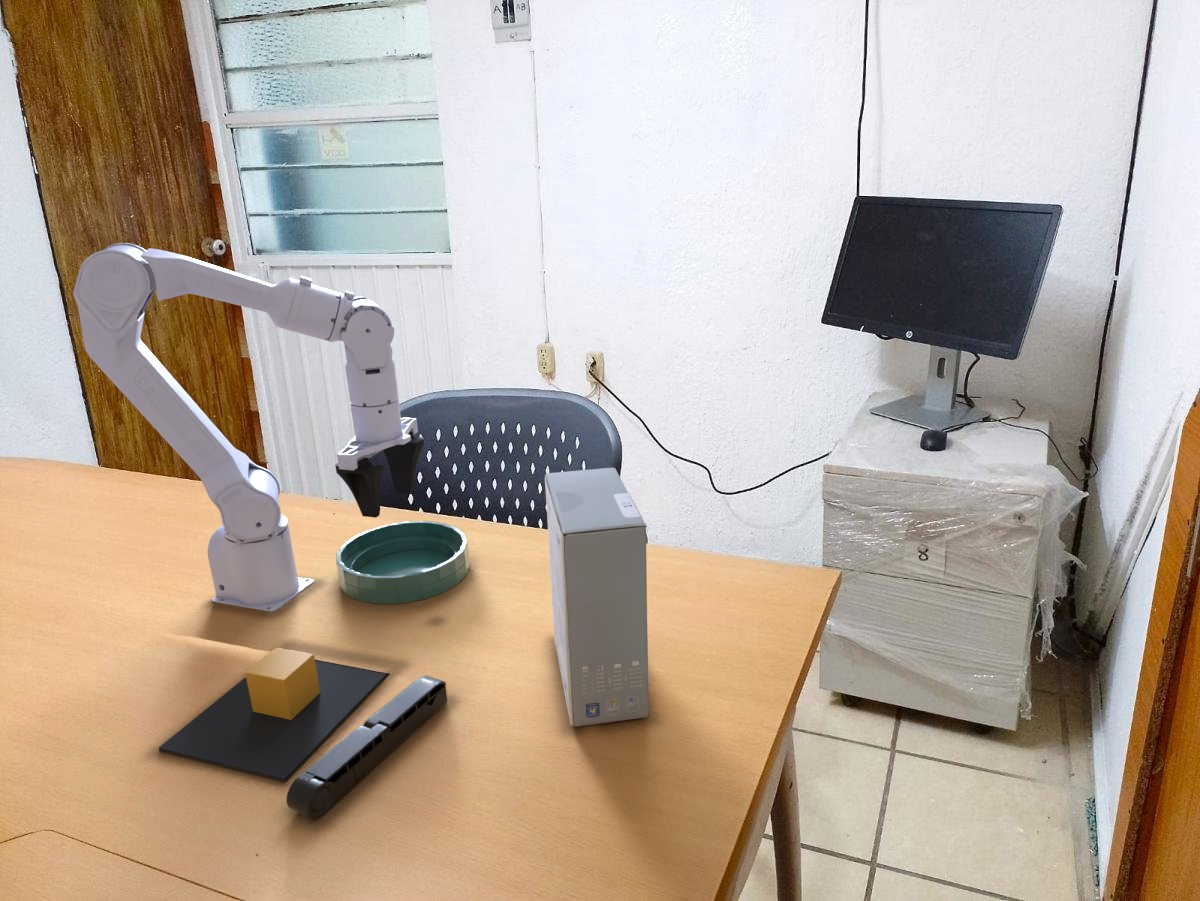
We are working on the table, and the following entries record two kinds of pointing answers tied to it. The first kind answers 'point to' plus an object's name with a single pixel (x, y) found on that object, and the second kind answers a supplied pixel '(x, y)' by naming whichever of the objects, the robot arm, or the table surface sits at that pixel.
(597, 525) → the hard drive box
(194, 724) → the mat
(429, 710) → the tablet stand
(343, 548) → the bowl
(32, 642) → the table surface
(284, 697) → the block
